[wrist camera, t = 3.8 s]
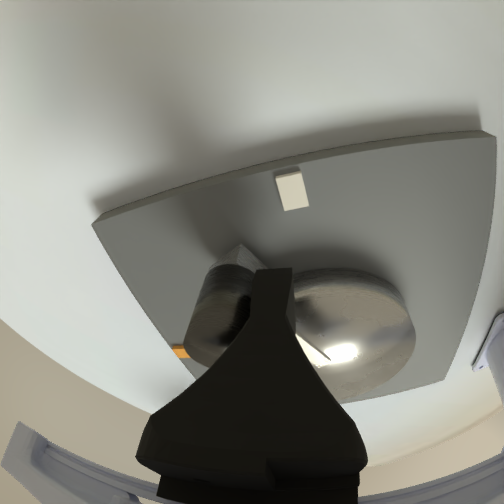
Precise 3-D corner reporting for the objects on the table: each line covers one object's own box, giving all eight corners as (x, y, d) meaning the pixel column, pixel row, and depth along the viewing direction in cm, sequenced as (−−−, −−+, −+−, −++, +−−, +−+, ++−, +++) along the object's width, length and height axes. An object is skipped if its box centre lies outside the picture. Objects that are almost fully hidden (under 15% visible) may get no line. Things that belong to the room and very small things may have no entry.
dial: (426, 337, 15) (447, 404, 11) (303, 392, 20) (302, 453, 15) (310, 172, 10) (329, 245, 6) (158, 292, 15) (123, 369, 11)
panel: (482, 130, 9) (500, 138, 8) (440, 369, 19) (444, 382, 18) (102, 213, 14) (88, 227, 13) (226, 401, 24) (224, 414, 23)
